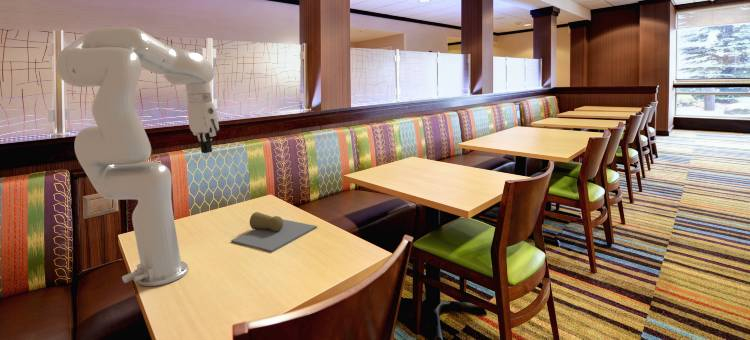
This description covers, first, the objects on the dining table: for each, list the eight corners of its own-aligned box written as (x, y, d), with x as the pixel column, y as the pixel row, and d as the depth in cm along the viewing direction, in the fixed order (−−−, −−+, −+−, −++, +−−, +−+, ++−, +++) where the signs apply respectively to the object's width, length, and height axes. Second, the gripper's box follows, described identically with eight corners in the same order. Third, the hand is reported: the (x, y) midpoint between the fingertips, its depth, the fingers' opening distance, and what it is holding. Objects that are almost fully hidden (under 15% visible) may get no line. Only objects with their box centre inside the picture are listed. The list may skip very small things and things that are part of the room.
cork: (249, 230, 137) (274, 235, 132) (249, 213, 137) (274, 217, 132) (262, 227, 143) (286, 231, 138) (262, 210, 142) (286, 214, 137)
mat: (271, 252, 121) (271, 250, 121) (231, 241, 130) (231, 240, 130) (317, 227, 139) (317, 226, 139) (278, 219, 148) (278, 218, 148)
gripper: (223, 98, 134) (230, 151, 138) (195, 98, 141) (202, 149, 145) (204, 99, 127) (212, 156, 132) (175, 99, 135) (183, 153, 139)
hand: (206, 152), depth 139 cm, fingers closed
